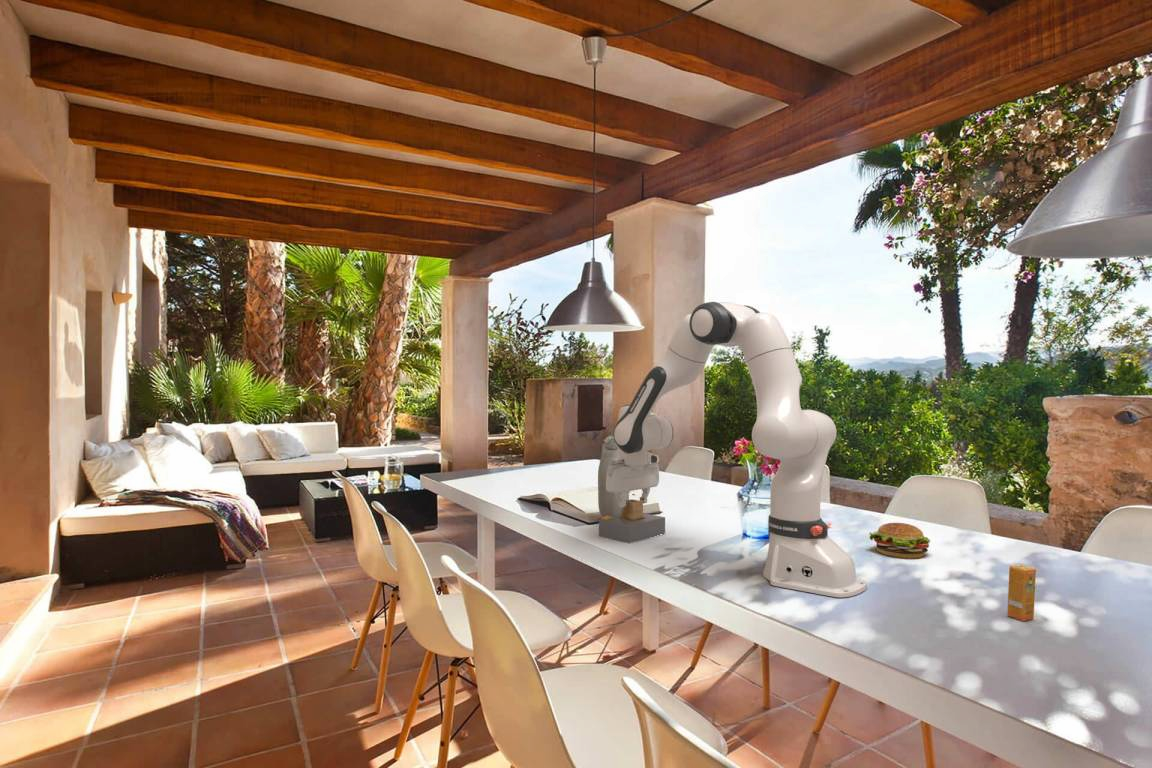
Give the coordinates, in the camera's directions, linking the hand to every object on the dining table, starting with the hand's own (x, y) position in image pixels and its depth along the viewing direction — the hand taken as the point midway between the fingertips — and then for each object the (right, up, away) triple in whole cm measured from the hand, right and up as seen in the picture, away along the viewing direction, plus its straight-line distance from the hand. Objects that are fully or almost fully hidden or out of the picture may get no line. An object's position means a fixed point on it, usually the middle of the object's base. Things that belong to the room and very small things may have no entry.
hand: (633, 505), depth 195 cm
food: (+69, -10, -19) cm, 73 cm away
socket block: (0, -9, 0) cm, 9 cm away
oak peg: (0, -8, 0) cm, 8 cm away
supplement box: (+69, -10, -67) cm, 97 cm away
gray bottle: (-5, -9, +20) cm, 22 cm away
